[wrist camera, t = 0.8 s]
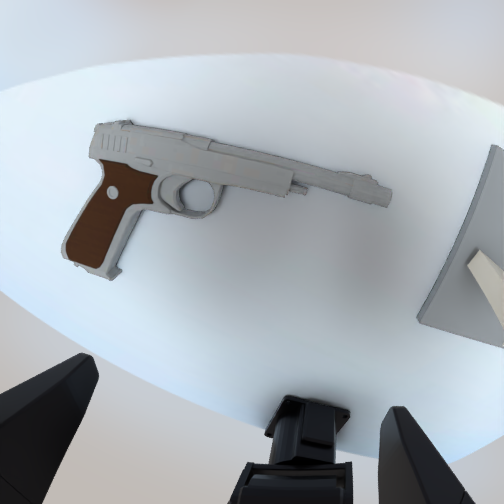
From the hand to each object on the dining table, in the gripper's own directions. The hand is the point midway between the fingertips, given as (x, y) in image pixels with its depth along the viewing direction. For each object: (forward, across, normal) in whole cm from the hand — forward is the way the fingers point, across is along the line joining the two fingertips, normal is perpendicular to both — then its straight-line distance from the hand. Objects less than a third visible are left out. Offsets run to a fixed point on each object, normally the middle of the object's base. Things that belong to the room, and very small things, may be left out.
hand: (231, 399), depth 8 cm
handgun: (+15, +5, 0) cm, 16 cm away
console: (+14, -18, 0) cm, 23 cm away
